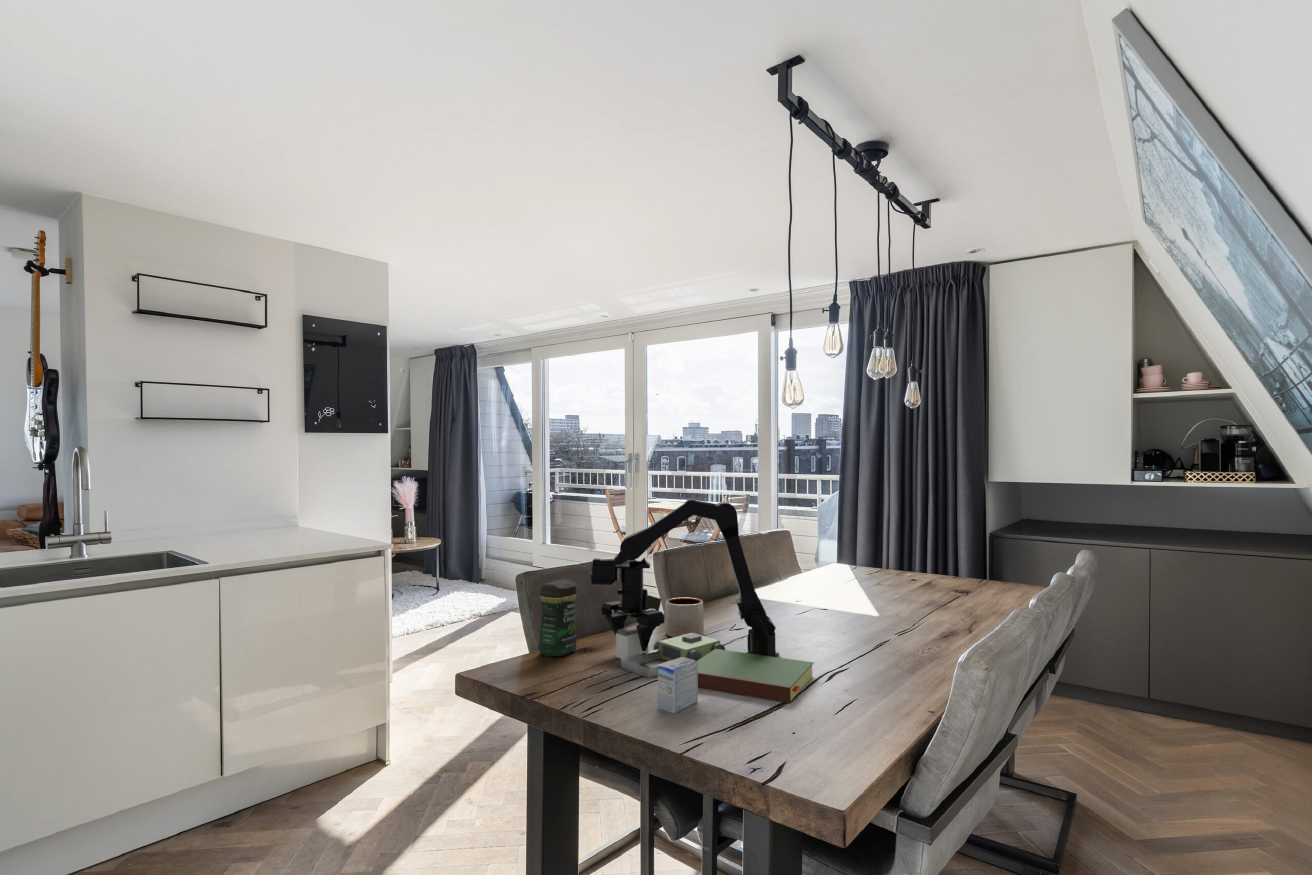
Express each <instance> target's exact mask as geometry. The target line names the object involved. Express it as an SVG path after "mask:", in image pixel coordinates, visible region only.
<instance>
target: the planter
mask: <svg viewBox="0 0 1312 875" xmlns="http://www.w3.org/2000/svg"><path fill="white" fill-rule="evenodd" d="M704 623H705V622H704V601H703V599H701V598H698V597H697V598H696V597H689V596H683V597H682V596H681V597H680V596H679V597H672V598H669V599H666V600H665V634H666V635H667V636H668V637H669V636H670V638H671V637H673V638H674V637H678V636H681V635H682V634H689V633H695V634H698V635H702V636H704V632H705V625H704Z"/></svg>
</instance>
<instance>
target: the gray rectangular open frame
mask: <svg viewBox="0 0 1312 875" xmlns="http://www.w3.org/2000/svg"><path fill="white" fill-rule="evenodd" d="M660 659H662V658H661V652H660V650H658V649H657V650H654V649H653V650H648V652H645V653H642V654H638V655H634V656H630V657H627V658H623V659H620V668H621V669H624V670H626V671H629V672H632V673H634V674H637V675H640V676H643V677H646V678H648V679H651V678H654V677H658V666H660V665H662V664H665V663H667V662H669V661H668V660H667V661H665V662H662V663H659V664H655V665H652V666H651V665H650V666H649V665H646V663H648V662H653V661H657V660H660Z"/></svg>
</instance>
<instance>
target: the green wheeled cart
mask: <svg viewBox="0 0 1312 875" xmlns="http://www.w3.org/2000/svg"><path fill="white" fill-rule="evenodd" d="M657 649H658V650H660V652H661V658H660V659H663V660H665V661H667V662H668V661H672V660H674V659H677V658H680V657H684V658H688V659H692V660H695V661H698V660H699V659H701V658H702V657H704V656H705V655H707V654H708V653H710V652H711V651H713V650H714V649H721V650H726V646H725V645H724V644H721V640H720V639H717V638H712V637H709V636H705V635H698V634H695V633H689V634H682V635H681V636H678V637H674V638H671V637H670V638H667V639H663V640H657V641H656V642H655V643H654V645H653V650H657Z"/></svg>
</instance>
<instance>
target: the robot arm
mask: <svg viewBox="0 0 1312 875" xmlns="http://www.w3.org/2000/svg"><path fill="white" fill-rule="evenodd" d="M693 516H697V517H701V518H704V519H709V520H713V521H714V522H716V525H717V527H718V529H719V531H720V533H721V535H722V537H723V539H724V542H725V546H726V550H727V553H728V556H729V560H730V563H731V567H732V570H733V573H734V574H733V575H734V577H735V579H736V584H737V587H738V593H739V597H738V598H734V601H735V603H736V605H737V607H738V616H739V617H740V619H741V620H742V621H743V620H744V623H745V624H746V625H747V626H748V627H749V628H751V629H748V630H747V631H748V632H747V633H748V634H747V635H746V636H747V640H746V641H747V652H745V653H750V654H757V655H764V656H771V657H779V656H780V653H779V652H777V651H776V650H777V649H776V628H777V627H776V626H775V624H774V623H773V621H772V619H771V618H770V617H769V616H768V615H767V611H766V610H765V608H764V605H763V604H762V602H761V600H760V598H759V596H758V593H757V592H756V589H755V587H754V585H753V584H754V583H753V581H752V578H751V574H750V571H749V567H748V564H747V559H746V557H745V553H744V550H743V547H742V543H741V542H742V541H741V540H740V534H739V532H740V531H739V523H738V522H739V521H738V513H737V509H736V508H735V506H734V505H733V504H731V503H729V502H727V501H719V502H717V503H713V502H707V501H702V500H696V499H694V498H689V499H687V500H685V502H684V503H683V504H681V505H680V506H678V507H677V508H675V509H674V510H672V511H671V512H669V513H668V514H667V515H665V516H664V517H662V518H660V519H659V520H657V521H656V522H654V523H653V524H651V525H650V526H648V527H647V528H644V529H641V530H639V531H636V532H633V533H632V534H630V535H627V536H625V538H624V539H622V542H621V543H620V545H619V546H620V547H619V552H618V553H617V554H616V555H615V556H614V558H609V559H608V558H598V557H597V558H593V560H592V565H591V566H592V568H591V572H590V581H591V586H599V587H601V586H604V587H605V586H607V587H608V586H611V587H612V586H615V584H616V582H619V577H620V588H619V589H617V594H618V595H620V600H616V601H609V602H604V603H603V604H602V606H601V615H604V618H605V619H606V620H607V622H608V624H609V627H610V628H611V629H612V632H613V634H614V636H615V637H616V633H618V630H619V629H623V628H625V623H626V620H627V618H628V617H630V618H634V619H636V622H637V625H635V626H637V631H638V636H639V640H640V645H641V649H642V651H646V650H647V647H648V648H649V643H650V640H651V638H652V635H653V633H654V630H655V629H656V628H657V627H660V626H661V625H662V624H665V613H663V611H660V608H661V602H662V598H660V597H657V596H653V595H650V594H648V589H647V588H644V569H650V568H651V563H650V562H649V561H647V559H646V558H645V557H643V558H642V559H641V560H637V559H639V558H640V557H641V556H642V555H643V554H645V553H646V551H647V550H648V549H649V548H650V547H651V546H652V545H653V544H654V543H655V542H656V541H657V540H659V539H661V537H663V536H664V535H666V534H668V533H669V532H670V531H672V530H673V529H675V528H676V527H677V526H679V525H681V524H682V523H684V522H685V521H687V520H688V519H690V518H692V517H693ZM628 561H629V563H628V564H624V563H626V562H628ZM619 569H620V572H619ZM619 573H620V575H619Z"/></svg>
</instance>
